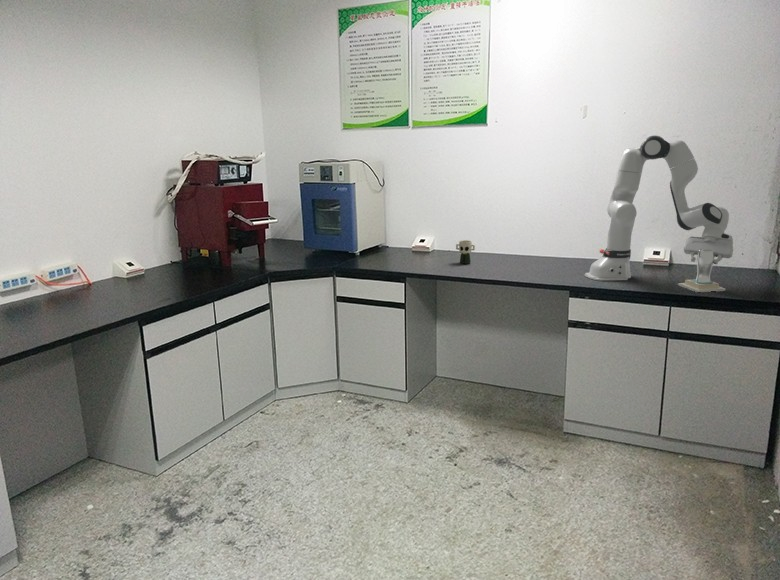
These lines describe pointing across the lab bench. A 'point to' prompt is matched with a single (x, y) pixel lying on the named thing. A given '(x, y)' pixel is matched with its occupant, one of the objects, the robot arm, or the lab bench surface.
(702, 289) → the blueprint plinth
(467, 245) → the character mug
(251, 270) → the lab bench surface
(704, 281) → the beer glass
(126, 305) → the lab bench surface
